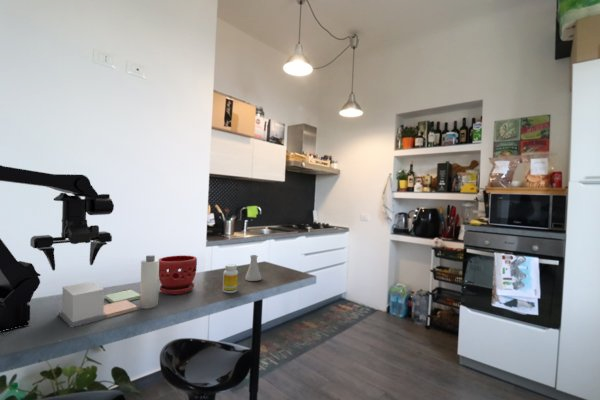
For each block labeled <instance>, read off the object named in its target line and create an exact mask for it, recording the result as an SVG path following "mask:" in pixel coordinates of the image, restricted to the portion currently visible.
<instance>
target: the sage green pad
mask: <svg viewBox="0 0 600 400" xmlns="http://www.w3.org/2000/svg"><path fill="white" fill-rule="evenodd" d="M138 299H139V300H140V293H138V292H136V291H134V290H133V289H128V290H124V291H119V292H114V293H109V294H104V300H107V301H108V302H110V304H111V303H115V302H119V301H123V300H127V301H129V302H131V301H136V300H138Z"/></svg>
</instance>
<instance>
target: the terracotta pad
mask: <svg viewBox="0 0 600 400" xmlns="http://www.w3.org/2000/svg"><path fill="white" fill-rule="evenodd" d="M137 310H138V305H135V304H134V303H132V302H131V301H127V300H123V301H119V302H115V303H111V302H110V303H107V304H104V313H106V314H107V318H106V319H109V318H112V317H116V316H119V315H120V316H121V315H123V314H126V313H127V314H128V313H131V312H134V311H137Z"/></svg>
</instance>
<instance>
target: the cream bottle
mask: <svg viewBox="0 0 600 400" xmlns="http://www.w3.org/2000/svg"><path fill="white" fill-rule="evenodd" d="M155 256H156V255H154V254H149V255H146V256H145V259H143V260H141V261H140V266H141V267H140V293H139V294H140V299H139V301H140V302H139V307H140V308H141V309H151V308H152V309H153V308H155V307H157V306H158V305H159V287H160V286H159V282H160V280H159V259H157V258H156V257H155Z"/></svg>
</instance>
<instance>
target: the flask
mask: <svg viewBox="0 0 600 400" xmlns="http://www.w3.org/2000/svg"><path fill="white" fill-rule="evenodd" d="M249 263H250V264H249V266H248V269H247V272H246V274H245V277H244V280H245V281H248V282H256V281H257V282H258V281H262V275H261V273H260V269H259V266H258V255H257V254H251V255H250V262H249Z"/></svg>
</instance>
